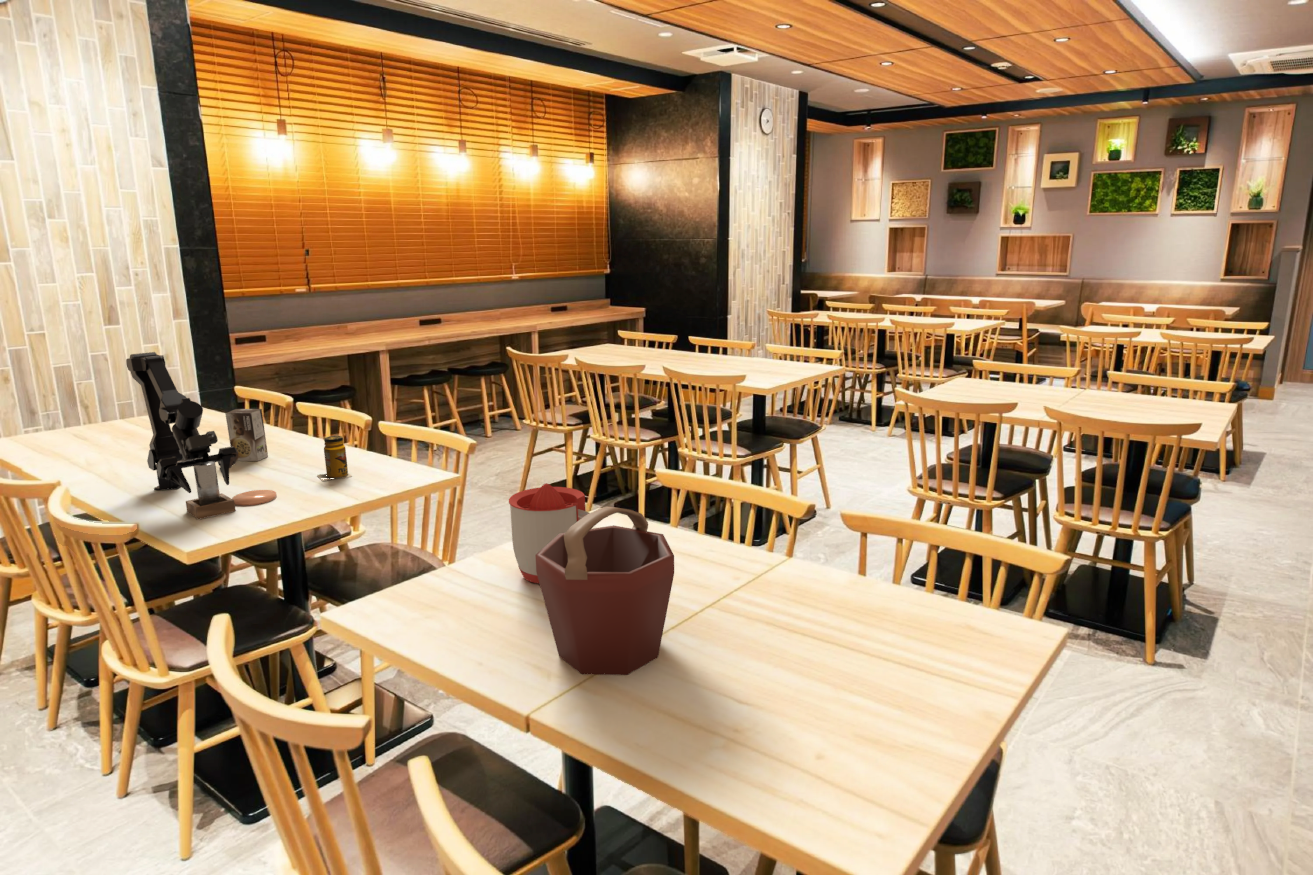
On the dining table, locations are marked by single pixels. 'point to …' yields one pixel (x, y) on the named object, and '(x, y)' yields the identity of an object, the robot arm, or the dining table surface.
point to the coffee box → (247, 434)
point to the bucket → (607, 593)
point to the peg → (207, 483)
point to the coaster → (254, 497)
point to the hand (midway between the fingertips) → (209, 488)
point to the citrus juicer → (541, 521)
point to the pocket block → (210, 507)
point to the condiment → (335, 458)
